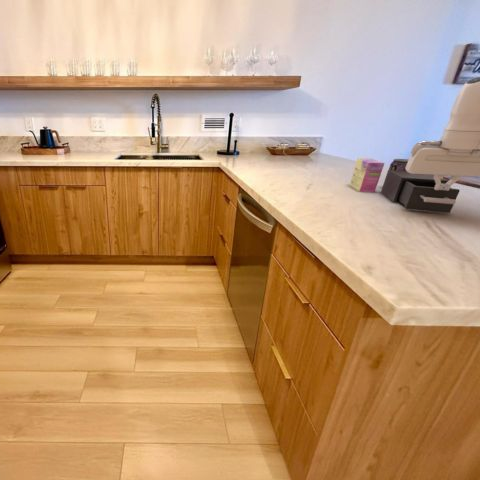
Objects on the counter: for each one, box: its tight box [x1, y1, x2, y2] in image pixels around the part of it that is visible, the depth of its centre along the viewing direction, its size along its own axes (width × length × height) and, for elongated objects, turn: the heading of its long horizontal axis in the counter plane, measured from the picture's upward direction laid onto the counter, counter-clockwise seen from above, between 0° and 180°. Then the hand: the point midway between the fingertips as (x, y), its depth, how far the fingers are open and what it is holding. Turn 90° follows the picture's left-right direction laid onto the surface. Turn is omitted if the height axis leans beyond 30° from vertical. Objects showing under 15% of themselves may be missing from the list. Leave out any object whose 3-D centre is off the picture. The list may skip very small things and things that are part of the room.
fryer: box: [380, 169, 449, 204], centre depth 103 cm, size 15×13×9 cm
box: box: [348, 157, 385, 193], centre depth 116 cm, size 10×6×12 cm, turn 168°
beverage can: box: [388, 158, 409, 171], centre depth 115 cm, size 7×7×12 cm
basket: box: [397, 180, 461, 214], centre depth 93 cm, size 18×11×7 cm, turn 159°
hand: (441, 190), depth 86 cm, fingers closed
